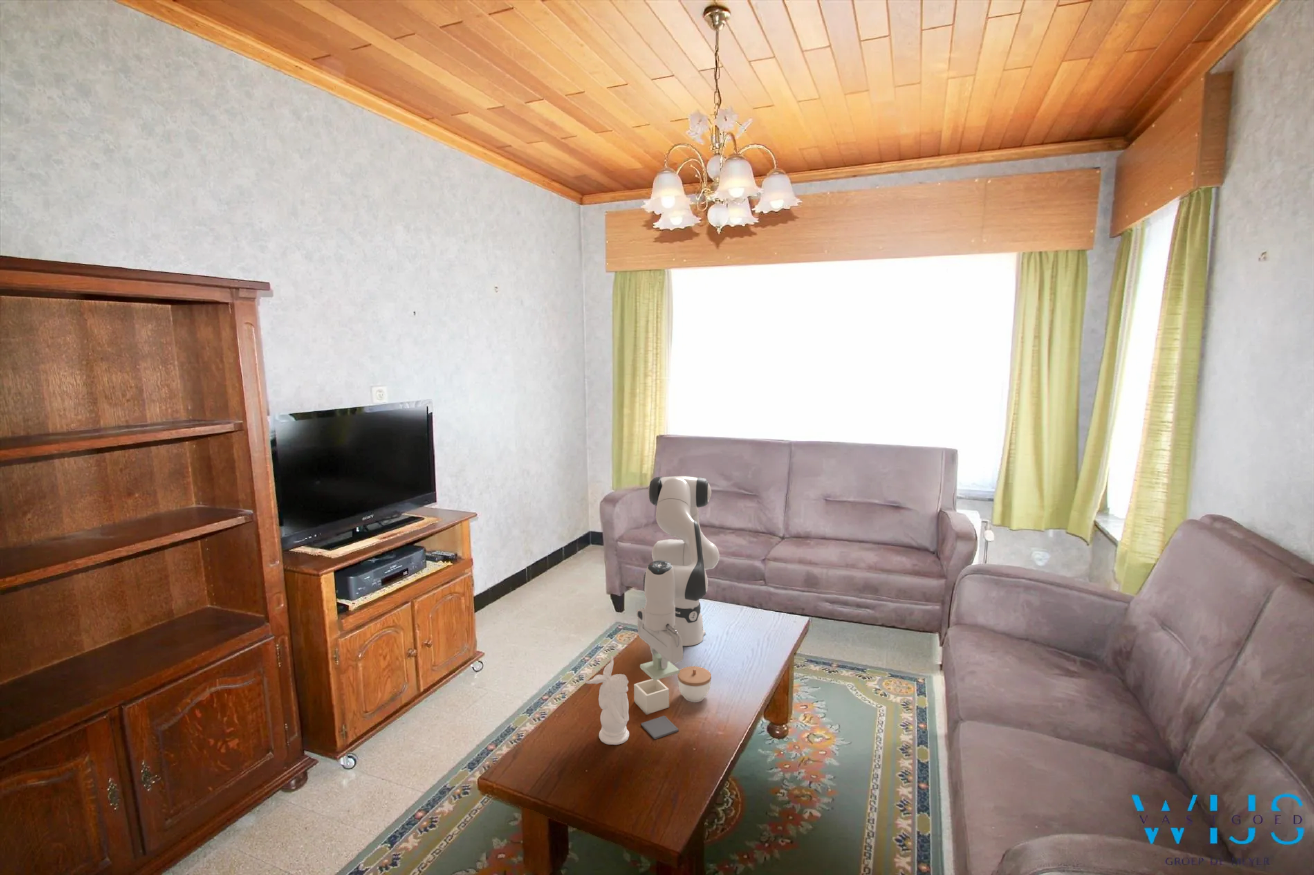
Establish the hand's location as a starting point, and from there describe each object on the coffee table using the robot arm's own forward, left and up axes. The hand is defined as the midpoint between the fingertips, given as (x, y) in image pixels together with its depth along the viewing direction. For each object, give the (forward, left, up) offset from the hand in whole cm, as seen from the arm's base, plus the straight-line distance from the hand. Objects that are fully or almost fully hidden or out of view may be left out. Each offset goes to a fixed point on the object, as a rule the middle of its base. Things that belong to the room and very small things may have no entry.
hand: (659, 664), depth 177 cm
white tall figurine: (-4, -15, -20) cm, 25 cm away
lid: (0, 0, -2) cm, 2 cm away
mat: (0, 0, -20) cm, 20 cm away
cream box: (-12, +4, -20) cm, 23 cm away
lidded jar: (-9, +18, -20) cm, 28 cm away
